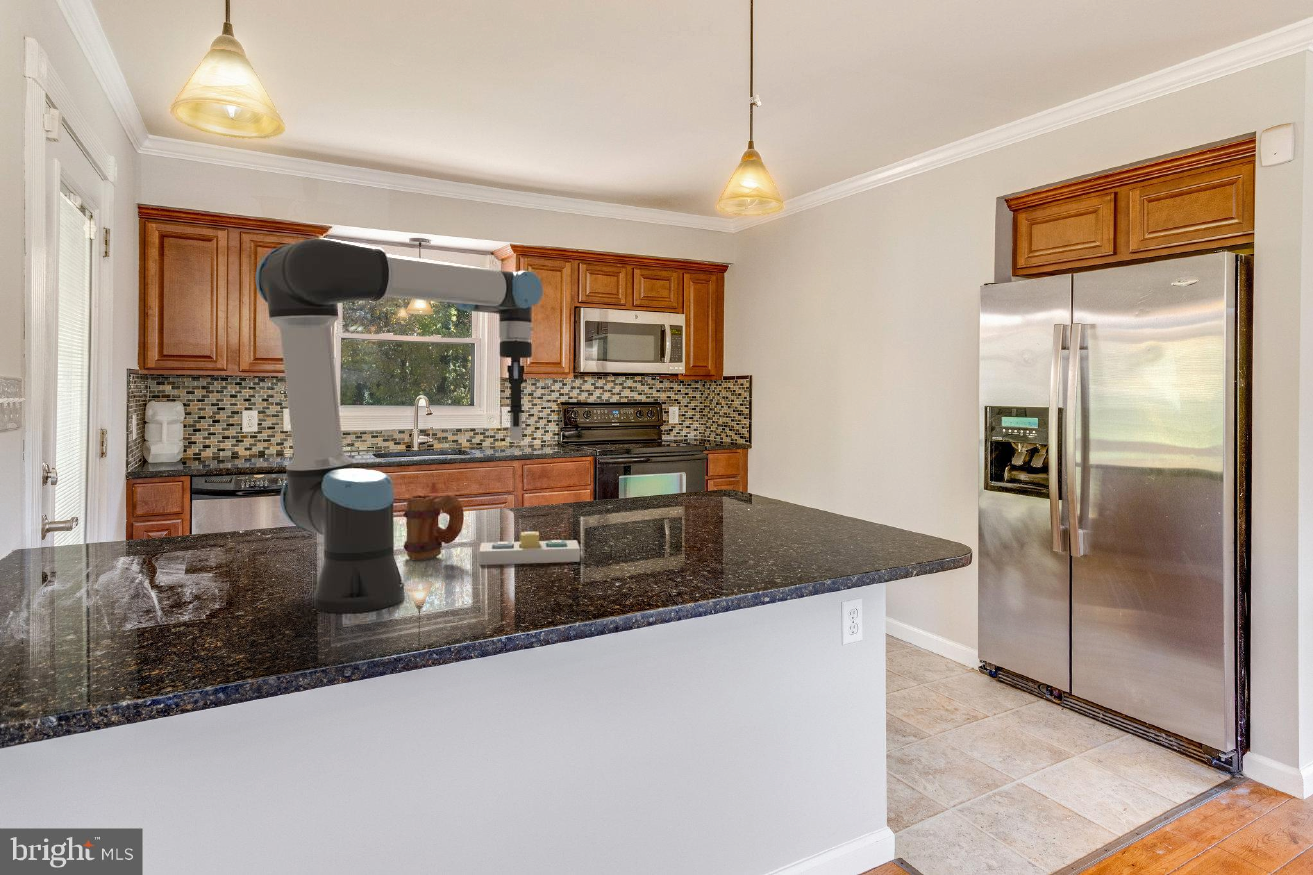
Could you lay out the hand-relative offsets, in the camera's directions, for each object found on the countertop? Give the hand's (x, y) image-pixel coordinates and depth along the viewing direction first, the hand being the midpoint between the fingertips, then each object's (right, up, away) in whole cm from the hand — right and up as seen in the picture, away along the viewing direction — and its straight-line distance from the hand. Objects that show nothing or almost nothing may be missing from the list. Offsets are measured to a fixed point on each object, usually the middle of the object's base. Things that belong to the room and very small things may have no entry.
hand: (516, 440), depth 172 cm
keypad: (+5, -27, -7) cm, 28 cm away
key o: (-1, -27, -9) cm, 28 cm away
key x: (+5, -24, -7) cm, 26 cm away
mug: (-17, -27, -9) cm, 33 cm away
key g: (+10, -27, -6) cm, 29 cm away
